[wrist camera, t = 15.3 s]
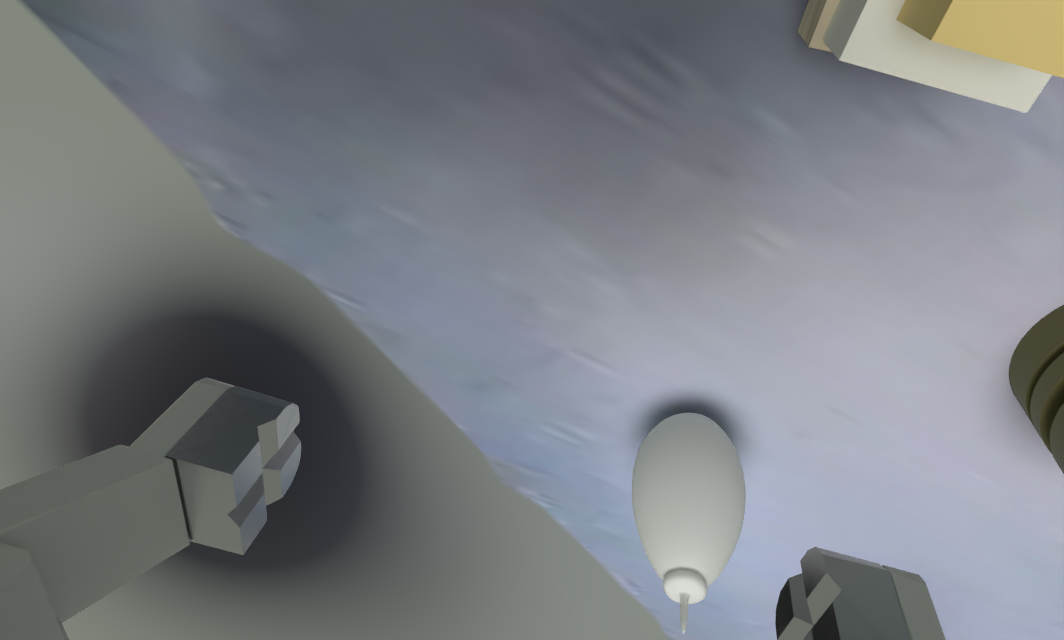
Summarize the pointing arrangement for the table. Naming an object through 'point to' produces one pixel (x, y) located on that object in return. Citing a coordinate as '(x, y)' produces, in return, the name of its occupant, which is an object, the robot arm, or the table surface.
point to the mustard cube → (994, 29)
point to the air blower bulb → (688, 504)
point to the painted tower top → (925, 56)
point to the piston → (1042, 380)
